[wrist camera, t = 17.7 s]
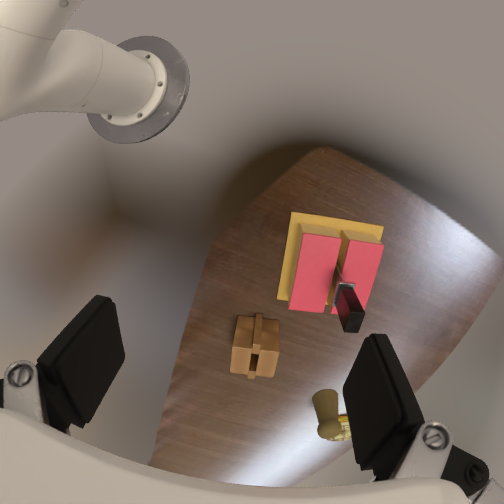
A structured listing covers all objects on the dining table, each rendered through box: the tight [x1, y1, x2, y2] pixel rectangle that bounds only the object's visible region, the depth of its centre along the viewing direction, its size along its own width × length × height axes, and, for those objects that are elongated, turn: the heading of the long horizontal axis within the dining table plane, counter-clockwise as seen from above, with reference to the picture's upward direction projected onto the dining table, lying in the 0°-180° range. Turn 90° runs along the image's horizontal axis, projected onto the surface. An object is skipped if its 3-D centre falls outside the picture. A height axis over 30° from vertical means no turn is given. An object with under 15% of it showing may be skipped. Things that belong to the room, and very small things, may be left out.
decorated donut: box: [327, 415, 352, 441], centre depth 59 cm, size 10×11×4 cm
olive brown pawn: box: [312, 389, 342, 439], centre depth 51 cm, size 6×6×11 cm
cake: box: [277, 211, 384, 314], centre depth 41 cm, size 15×15×5 cm
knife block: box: [230, 313, 279, 379], centre depth 46 cm, size 7×8×8 cm
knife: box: [331, 263, 365, 333], centre depth 36 cm, size 2×4×16 cm, turn 173°
